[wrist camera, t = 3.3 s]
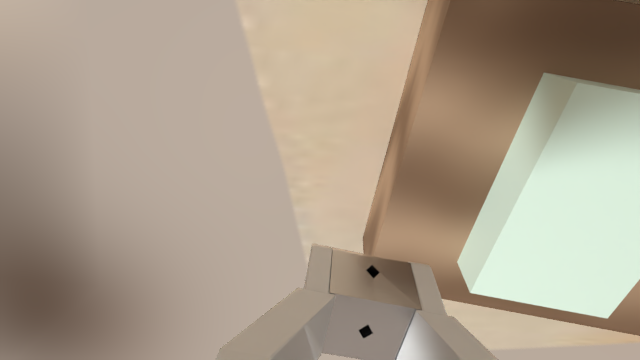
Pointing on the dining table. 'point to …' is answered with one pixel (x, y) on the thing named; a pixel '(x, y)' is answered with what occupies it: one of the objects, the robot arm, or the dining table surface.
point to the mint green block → (564, 203)
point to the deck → (487, 125)
